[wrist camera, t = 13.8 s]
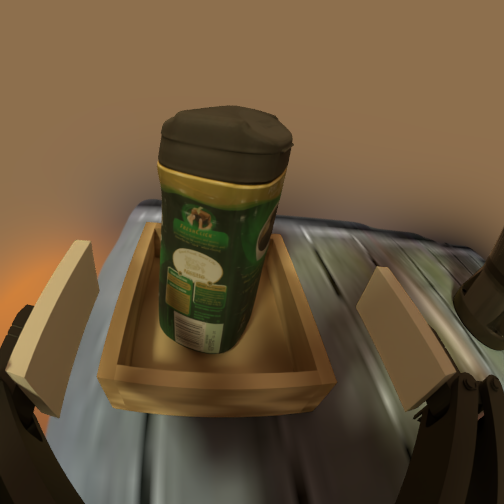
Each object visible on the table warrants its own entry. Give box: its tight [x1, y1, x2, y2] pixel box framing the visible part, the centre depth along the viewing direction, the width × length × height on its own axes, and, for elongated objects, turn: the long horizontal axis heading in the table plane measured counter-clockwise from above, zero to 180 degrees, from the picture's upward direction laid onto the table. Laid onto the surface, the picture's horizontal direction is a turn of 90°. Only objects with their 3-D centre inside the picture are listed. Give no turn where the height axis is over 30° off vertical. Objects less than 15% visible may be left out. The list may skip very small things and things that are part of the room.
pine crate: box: [97, 222, 337, 417], centre depth 25 cm, size 16×20×5 cm
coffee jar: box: [157, 106, 294, 354], centre depth 21 cm, size 10×8×19 cm
